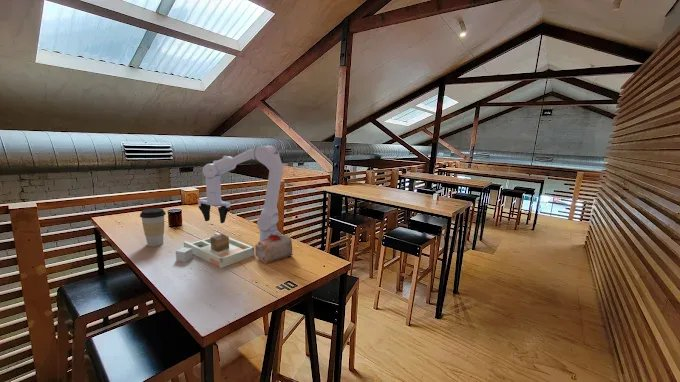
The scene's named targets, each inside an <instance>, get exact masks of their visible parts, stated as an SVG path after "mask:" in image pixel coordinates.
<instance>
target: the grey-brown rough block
mask: <svg viewBox="0 0 680 382" xmlns="http://www.w3.org/2000/svg"><path fill="white" fill-rule="evenodd" d="M254 251H255V252H254V256H256V257H257V258H258V260H260V262H262V263H263V264H269V263H272V262H274V261H275V262H276V261H278V260H282V259H285V257H286V258H288V256H289V257H292V256H293V242H292V238H291V237H290V236H289V235H286V234H282V236H278V235H273V234H272V233H271V234H270V236H268V239H265V240H262V241H260V240H259V241H258V242H257V244H255V245H254ZM291 255H292V256H291Z"/></svg>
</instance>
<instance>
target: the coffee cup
mask: <svg viewBox="0 0 680 382" xmlns="http://www.w3.org/2000/svg"><path fill="white" fill-rule="evenodd" d="M166 214H167V213H166V211H165V210H164V208H161V207H152V208H151V207H150V208H145V209H143V210H141V212H140V213H139V218H141V221H142V227H143V233H144V236H145V240H146V244H147V246H148V247H158V246H161V245H163V244H164V234H165V216H166Z"/></svg>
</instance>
